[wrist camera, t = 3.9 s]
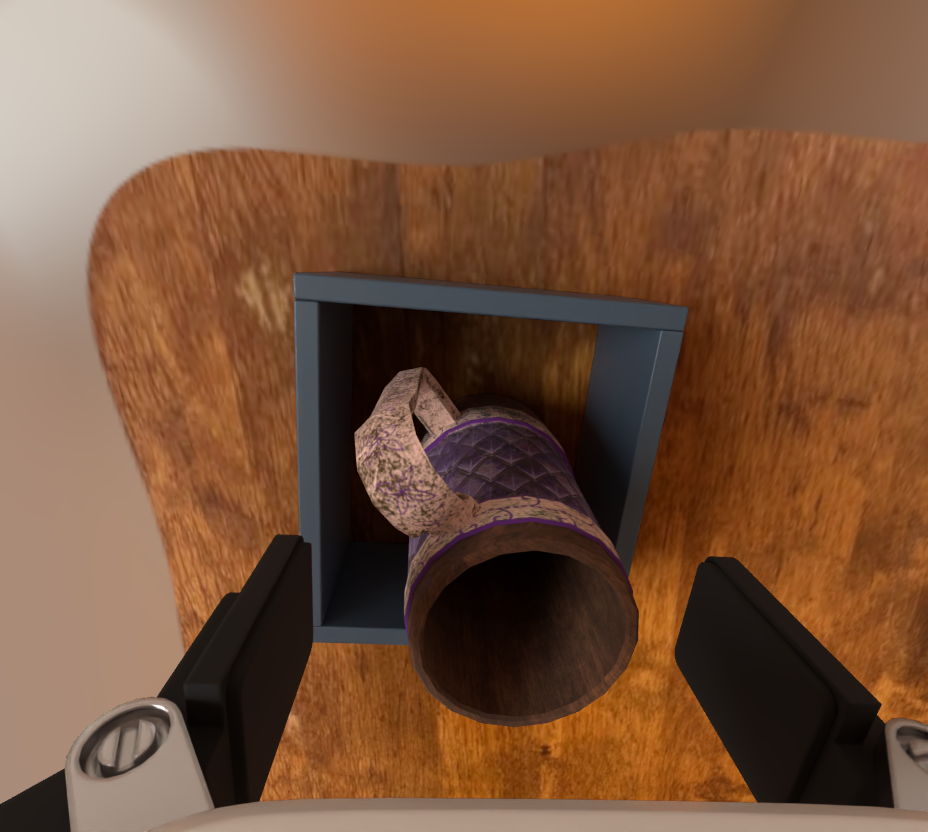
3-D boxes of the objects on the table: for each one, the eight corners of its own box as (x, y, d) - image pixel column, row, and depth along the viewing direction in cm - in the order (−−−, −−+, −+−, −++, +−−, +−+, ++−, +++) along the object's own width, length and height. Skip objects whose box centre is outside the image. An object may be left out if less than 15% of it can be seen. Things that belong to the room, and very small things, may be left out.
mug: (578, 481, 23) (711, 686, 12) (457, 546, 24) (472, 795, 13) (479, 302, 20) (528, 344, 9) (344, 382, 21) (232, 514, 10)
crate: (334, 553, 24) (301, 642, 18) (335, 271, 20) (292, 272, 14) (572, 563, 25) (612, 652, 19) (621, 296, 21) (690, 306, 15)
